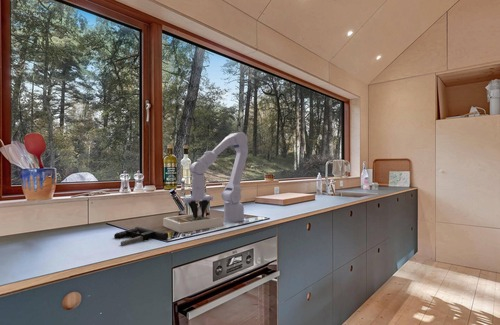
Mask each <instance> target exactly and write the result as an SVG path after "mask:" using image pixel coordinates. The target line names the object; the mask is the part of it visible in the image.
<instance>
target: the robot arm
mask: <svg viewBox="0 0 500 325" xmlns="http://www.w3.org/2000/svg"><path fill="white" fill-rule="evenodd" d="M248 141H249V138H248V136H247V135H246V133H245V132H243V131H238V132H234V133H233V132H231V133H229V134H228V135H227V136H225V137H224V139H223V140H222V141H220V142H219V143H218V145H216V147H214V148H213V149H212V150H207V151H204V153H203V155H202V156H201V157H199V158H197V159H196V161H195V162H193V163H192V164H190V167H189V171H190V173H191V197H185V198H184V197H183V199H182V203H183V204H188V206H189V207H190V210H191V214H193V218H197V207H198V206H202V217H204V213H205V212H206V209H207V207H208V206H209V201H214V196H213V195H207V196H205V191H206V190H205V173H206V172H207V170H208V168H210V166H211V165H213V163H215V162H216V161H217V158H218V155H220V154H221V153H222V152H224V151H225V150H226V149H228V147H232V148H233V149H234V150H235V153H236V155H235V159H234V162H233V165H232V170H231V172H230V173H231V174H230V177H229V180H228V183H227V184H226V185H225V188H224V189H223V191H222V192H221V199H222V200H223V217H224V223H227V224H232V223H240V222H244V221H246V220H245V210H244V204H243V203H242V202H240V201H241V199H242V187H241V186H240V185H241V182H242V176H243V172H244V169H245V164H246V161H247V158H248V155H249V147H248V146H249V145H248Z"/></svg>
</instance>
